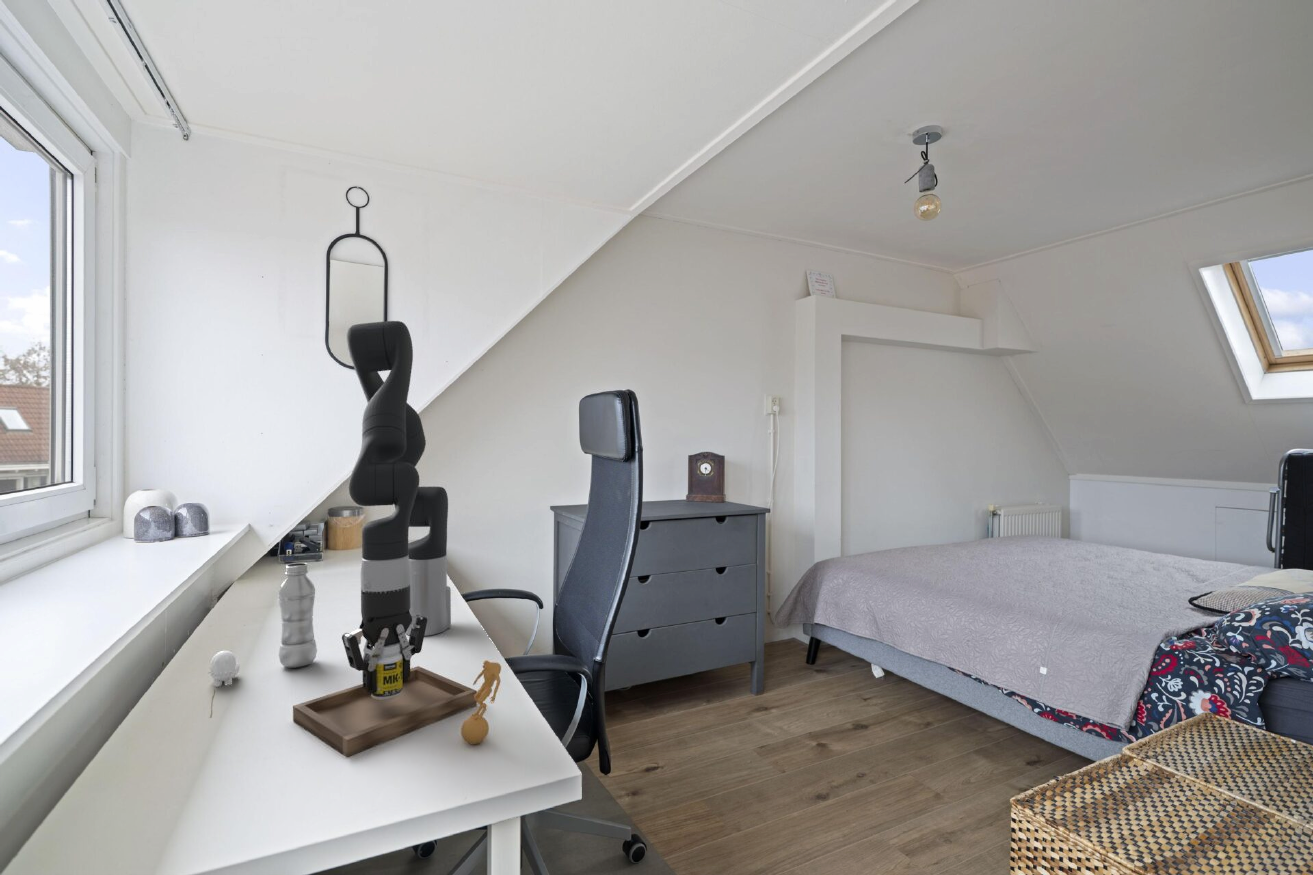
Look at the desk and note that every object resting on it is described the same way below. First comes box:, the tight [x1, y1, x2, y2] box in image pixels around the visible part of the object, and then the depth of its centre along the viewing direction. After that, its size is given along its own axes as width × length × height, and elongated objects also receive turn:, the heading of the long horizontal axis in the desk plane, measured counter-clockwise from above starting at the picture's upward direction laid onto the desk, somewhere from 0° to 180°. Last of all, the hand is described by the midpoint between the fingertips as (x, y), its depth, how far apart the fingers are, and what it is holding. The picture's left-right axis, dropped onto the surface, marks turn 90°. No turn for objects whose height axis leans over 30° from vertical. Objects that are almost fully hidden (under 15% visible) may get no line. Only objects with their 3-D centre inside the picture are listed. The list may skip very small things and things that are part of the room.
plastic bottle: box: [277, 562, 318, 669], centre depth 128 cm, size 6×7×20 cm
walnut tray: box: [292, 665, 478, 758], centre depth 107 cm, size 22×18×2 cm
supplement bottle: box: [371, 643, 403, 700], centre depth 107 cm, size 5×5×8 cm
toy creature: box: [208, 650, 241, 687], centre depth 120 cm, size 5×8×6 cm, turn 24°
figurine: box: [460, 659, 502, 745], centre depth 98 cm, size 8×6×12 cm
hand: (387, 686), depth 107 cm, fingers closed on supplement bottle, 4 cm apart
